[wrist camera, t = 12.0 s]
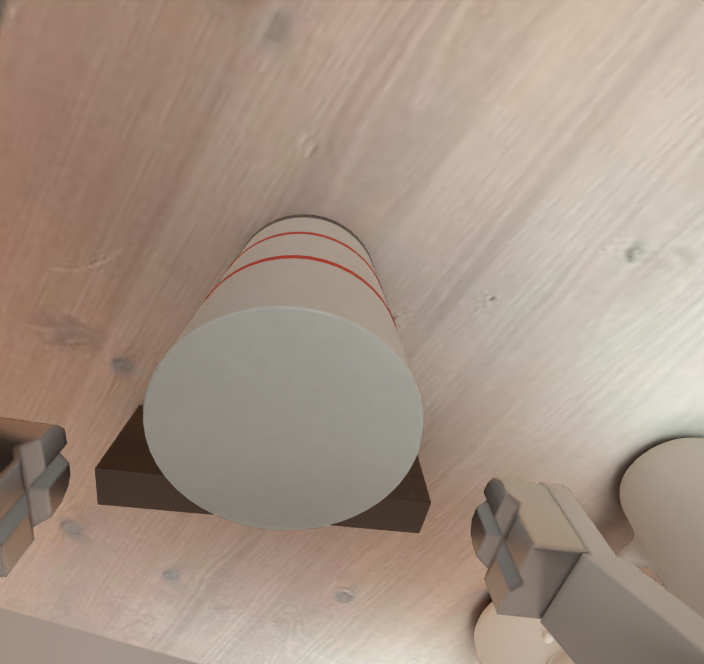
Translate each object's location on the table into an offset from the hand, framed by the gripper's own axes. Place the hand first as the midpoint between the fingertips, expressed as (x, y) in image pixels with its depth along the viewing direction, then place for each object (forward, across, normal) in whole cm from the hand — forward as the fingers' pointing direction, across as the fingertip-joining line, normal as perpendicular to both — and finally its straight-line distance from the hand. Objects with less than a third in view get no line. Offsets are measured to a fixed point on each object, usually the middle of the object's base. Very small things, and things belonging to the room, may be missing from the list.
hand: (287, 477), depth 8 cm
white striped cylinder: (+10, 0, +4) cm, 11 cm away
